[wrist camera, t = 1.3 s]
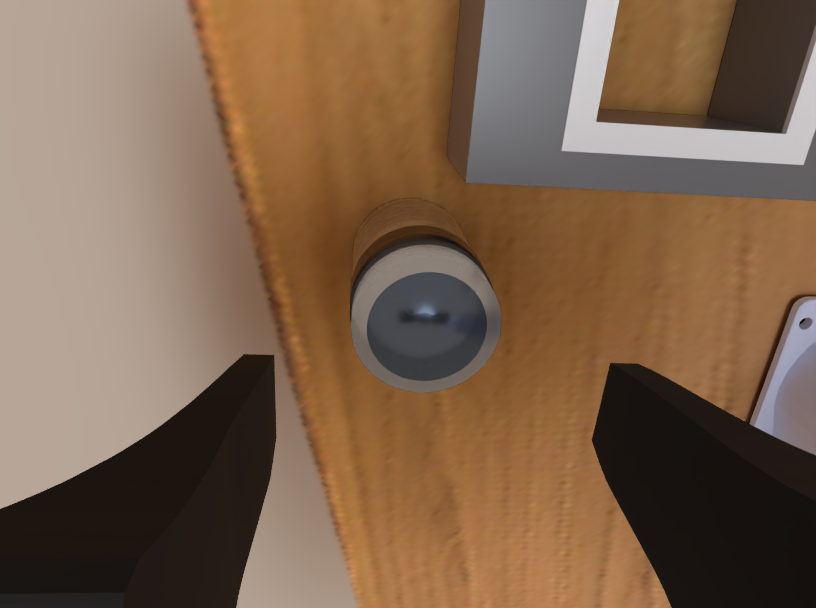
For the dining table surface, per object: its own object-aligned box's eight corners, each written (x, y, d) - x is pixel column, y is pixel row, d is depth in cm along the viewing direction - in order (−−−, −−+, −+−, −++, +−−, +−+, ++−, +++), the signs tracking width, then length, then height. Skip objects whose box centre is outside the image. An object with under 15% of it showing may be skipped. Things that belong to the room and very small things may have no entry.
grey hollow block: (781, 174, 21) (871, 204, 17) (446, 155, 20) (466, 183, 16) (882, -134, 17) (1023, -180, 14) (477, -179, 16) (512, -243, 12)
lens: (459, 306, 22) (493, 396, 17) (349, 303, 22) (347, 393, 16) (472, 199, 20) (513, 259, 15) (353, 193, 20) (351, 252, 15)
